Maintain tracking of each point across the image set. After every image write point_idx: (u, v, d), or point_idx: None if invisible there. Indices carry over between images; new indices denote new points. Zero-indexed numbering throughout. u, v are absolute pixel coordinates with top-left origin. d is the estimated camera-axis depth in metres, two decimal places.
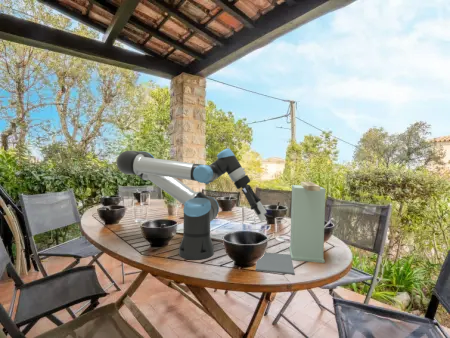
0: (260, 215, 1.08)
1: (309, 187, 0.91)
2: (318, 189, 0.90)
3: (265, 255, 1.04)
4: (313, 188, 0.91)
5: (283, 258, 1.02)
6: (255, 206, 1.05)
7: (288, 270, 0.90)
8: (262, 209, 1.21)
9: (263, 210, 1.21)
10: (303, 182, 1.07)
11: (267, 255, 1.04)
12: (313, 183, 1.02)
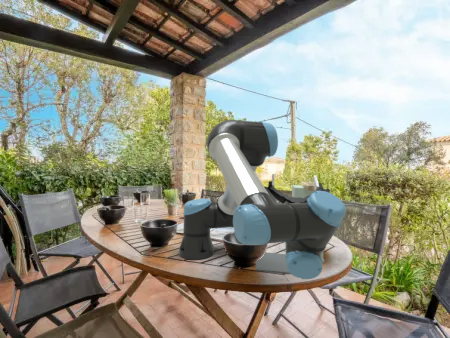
0: (272, 181, 0.82)
1: (309, 187, 0.91)
2: None
3: (265, 255, 1.04)
4: (313, 188, 0.91)
5: (283, 258, 1.02)
6: None
7: None
8: (314, 183, 0.80)
9: (314, 182, 0.81)
10: (303, 182, 1.07)
11: (267, 255, 1.04)
12: None
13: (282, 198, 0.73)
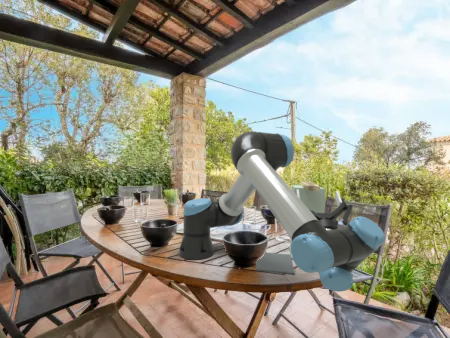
0: None
1: (309, 187, 0.91)
2: (318, 189, 0.90)
3: (265, 255, 1.04)
4: (313, 188, 0.91)
5: (283, 258, 1.02)
6: None
7: (288, 270, 0.90)
8: (336, 198, 0.86)
9: (336, 197, 0.87)
10: (303, 182, 1.07)
11: (267, 255, 1.04)
12: (313, 183, 1.02)
13: None
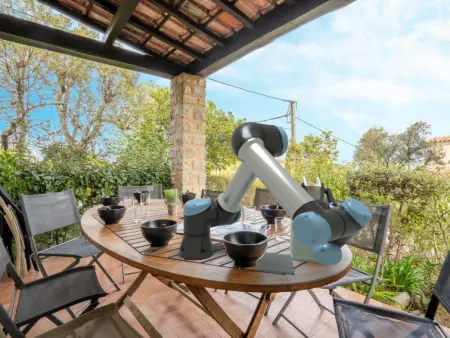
0: (303, 182, 0.97)
1: (309, 187, 0.91)
2: (318, 189, 0.90)
3: (265, 255, 1.04)
4: (313, 188, 0.91)
5: (283, 258, 1.02)
6: None
7: (288, 270, 0.90)
8: (317, 183, 0.96)
9: (316, 183, 0.97)
10: None
11: (267, 255, 1.04)
12: (313, 183, 1.02)
13: None
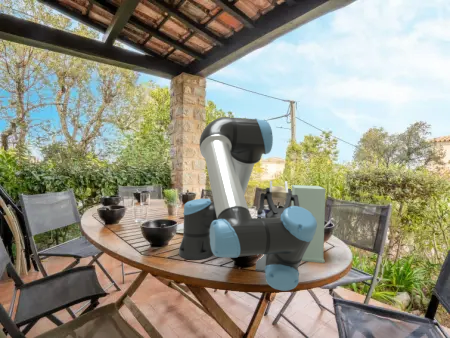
0: None
1: (274, 193, 0.79)
2: (284, 196, 0.79)
3: (265, 255, 1.04)
4: (278, 195, 0.79)
5: None
6: None
7: None
8: None
9: None
10: (272, 187, 0.95)
11: None
12: (282, 188, 0.91)
13: (270, 207, 0.76)
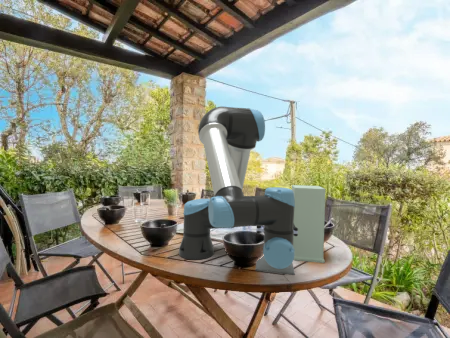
0: None
1: None
2: None
3: None
4: None
5: None
6: None
7: (288, 270, 0.90)
8: None
9: None
10: None
11: None
12: None
13: None
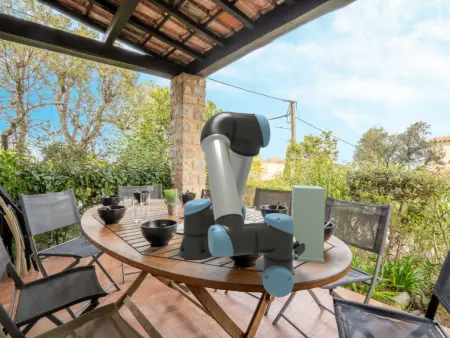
0: None
1: None
2: None
3: None
4: None
5: None
6: None
7: None
8: None
9: None
10: None
11: None
12: None
13: None
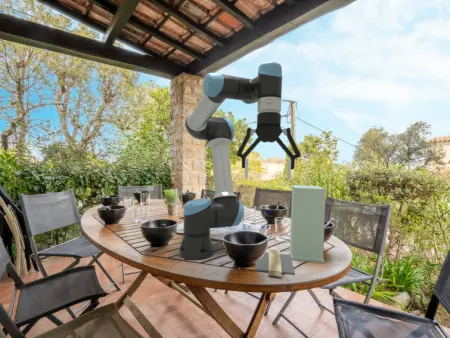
0: None
1: (270, 272, 0.85)
2: (279, 274, 0.85)
3: (265, 255, 1.04)
4: (274, 273, 0.85)
5: (283, 258, 1.02)
6: (237, 155, 0.80)
7: (288, 270, 0.90)
8: (288, 172, 0.77)
9: None
10: (270, 253, 1.01)
11: (267, 255, 1.04)
12: (279, 257, 0.97)
13: None
